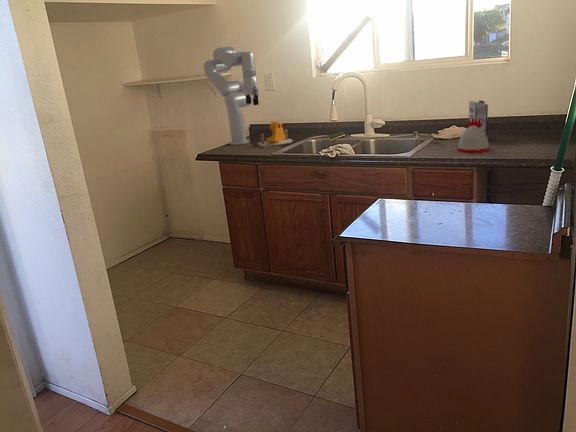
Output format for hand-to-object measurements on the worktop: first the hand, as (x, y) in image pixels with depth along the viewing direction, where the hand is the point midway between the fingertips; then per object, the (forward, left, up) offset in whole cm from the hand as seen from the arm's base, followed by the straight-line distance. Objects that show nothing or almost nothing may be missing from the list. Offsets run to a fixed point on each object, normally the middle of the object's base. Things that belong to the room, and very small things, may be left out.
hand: (252, 104), depth 288 cm
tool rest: (+1, +11, -25) cm, 28 cm away
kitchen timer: (+103, +70, -26) cm, 127 cm away
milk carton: (+87, +89, -26) cm, 127 cm away
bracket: (+2, +12, -24) cm, 27 cm away
